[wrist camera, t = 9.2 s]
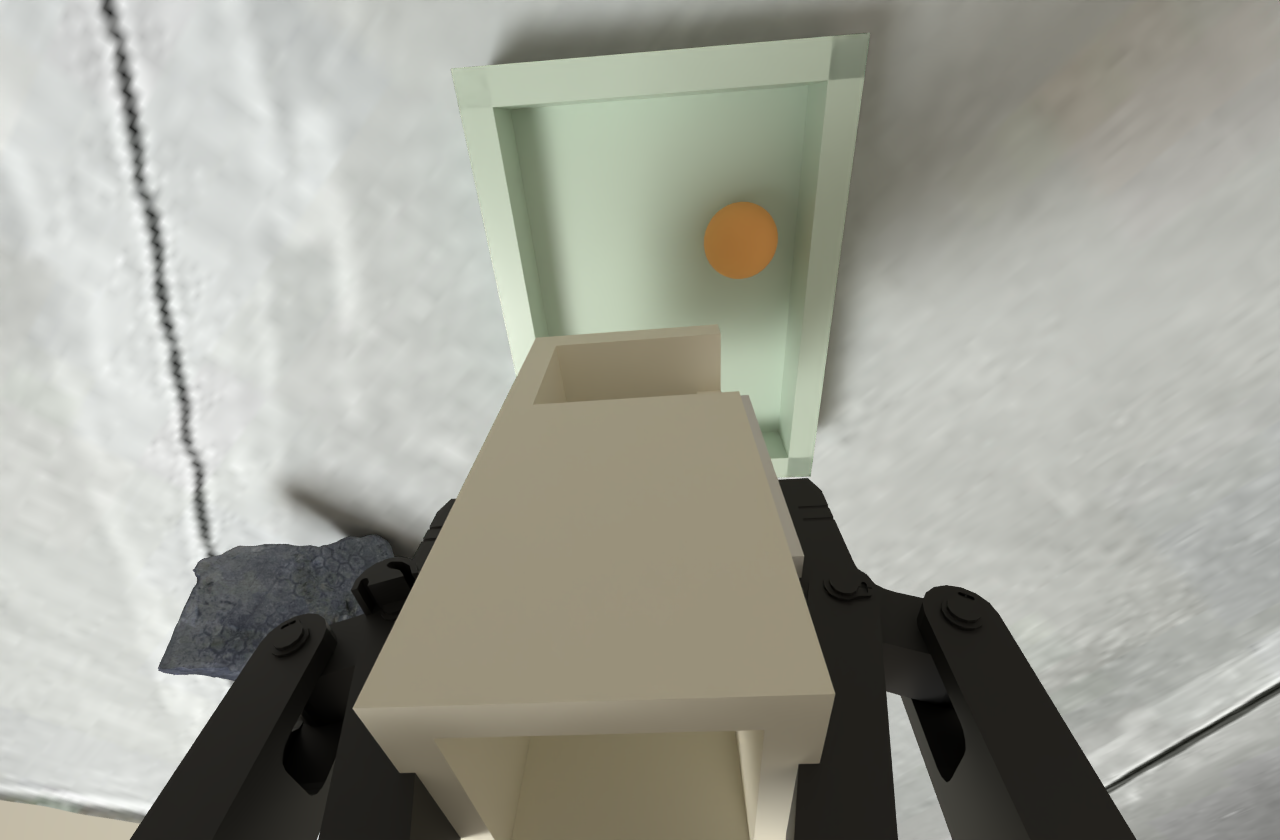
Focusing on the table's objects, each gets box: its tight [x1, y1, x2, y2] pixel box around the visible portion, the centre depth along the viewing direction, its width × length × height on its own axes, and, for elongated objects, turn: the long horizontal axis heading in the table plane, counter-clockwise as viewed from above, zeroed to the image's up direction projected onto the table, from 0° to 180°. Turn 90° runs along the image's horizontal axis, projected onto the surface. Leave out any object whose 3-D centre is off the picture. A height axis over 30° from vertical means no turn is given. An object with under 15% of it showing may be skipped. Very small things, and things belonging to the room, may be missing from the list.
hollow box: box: [353, 324, 835, 840], centre depth 13 cm, size 6×6×12 cm
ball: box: [704, 202, 778, 279], centre depth 20 cm, size 3×3×3 cm
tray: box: [451, 33, 870, 478], centre depth 23 cm, size 18×14×4 cm
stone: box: [158, 534, 395, 681], centre depth 30 cm, size 14×6×10 cm, turn 75°
